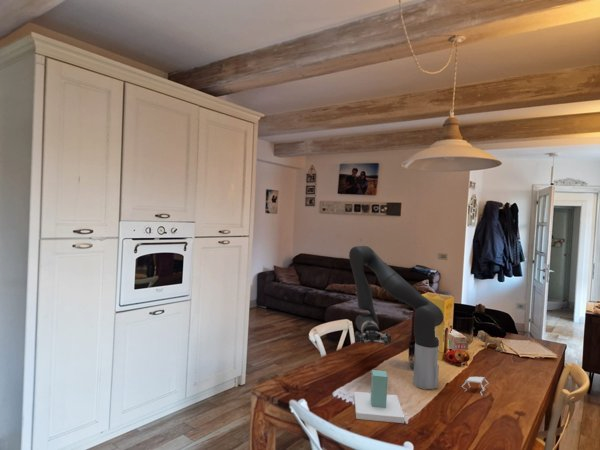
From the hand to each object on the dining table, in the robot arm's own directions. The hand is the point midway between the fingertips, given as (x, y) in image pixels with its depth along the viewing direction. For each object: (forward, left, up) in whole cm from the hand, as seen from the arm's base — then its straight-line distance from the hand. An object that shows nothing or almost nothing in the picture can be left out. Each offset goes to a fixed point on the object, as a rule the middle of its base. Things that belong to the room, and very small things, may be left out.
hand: (374, 342), depth 149 cm
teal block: (-1, +13, -18) cm, 22 cm away
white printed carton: (-45, -54, -20) cm, 73 cm away
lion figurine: (-71, -66, -20) cm, 99 cm away
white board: (-1, +12, -20) cm, 24 cm away
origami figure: (-44, -11, -20) cm, 49 cm away
